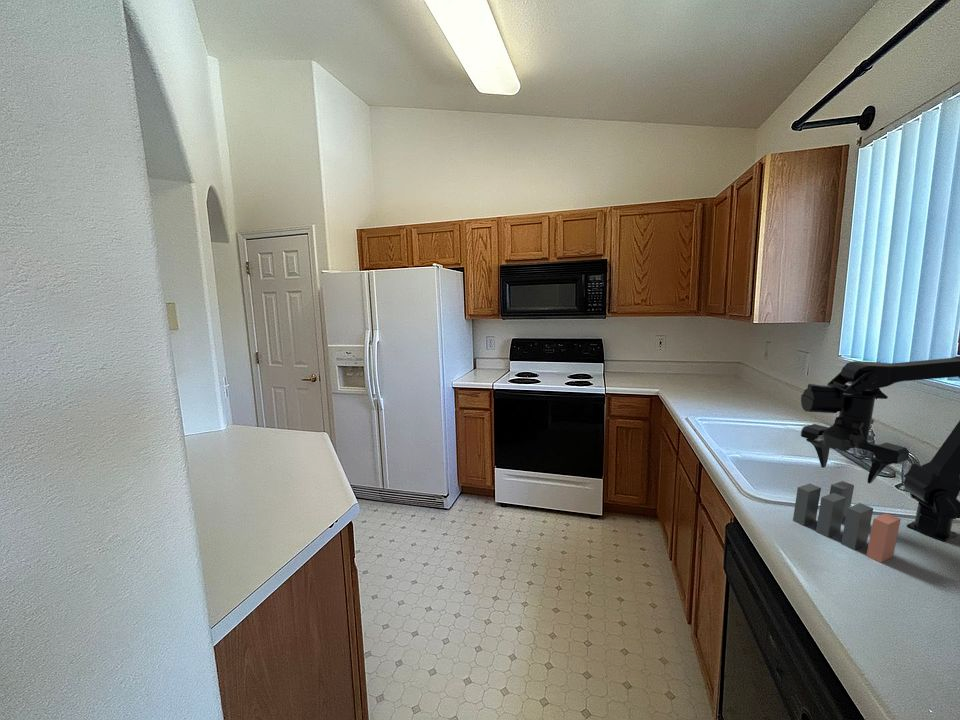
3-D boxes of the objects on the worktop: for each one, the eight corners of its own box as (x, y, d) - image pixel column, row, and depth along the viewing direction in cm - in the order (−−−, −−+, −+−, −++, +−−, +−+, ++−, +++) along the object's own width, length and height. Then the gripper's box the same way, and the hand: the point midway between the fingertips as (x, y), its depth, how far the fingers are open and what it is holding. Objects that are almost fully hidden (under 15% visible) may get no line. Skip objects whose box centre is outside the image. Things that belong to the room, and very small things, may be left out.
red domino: (866, 555, 86) (873, 518, 84) (878, 549, 88) (885, 513, 86) (880, 562, 84) (888, 524, 82) (893, 556, 86) (900, 518, 84)
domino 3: (815, 531, 95) (821, 497, 93) (828, 526, 96) (833, 492, 95) (827, 537, 92) (833, 502, 91) (840, 532, 94) (846, 497, 93)
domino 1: (792, 520, 99) (797, 487, 98) (804, 515, 101) (809, 483, 99) (803, 525, 97) (808, 491, 95) (815, 520, 99) (821, 487, 97)
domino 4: (841, 543, 90) (847, 507, 88) (853, 538, 92) (859, 502, 90) (854, 550, 88) (861, 513, 86) (866, 544, 90) (873, 508, 88)
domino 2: (825, 517, 100) (831, 484, 99) (837, 513, 102) (842, 480, 101) (837, 522, 98) (842, 489, 96) (848, 518, 100) (854, 485, 98)
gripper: (791, 408, 100) (784, 465, 103) (890, 432, 83) (878, 500, 86) (817, 402, 104) (809, 458, 107) (915, 424, 88) (903, 489, 90)
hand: (845, 474), depth 98 cm, fingers open, 9 cm apart
